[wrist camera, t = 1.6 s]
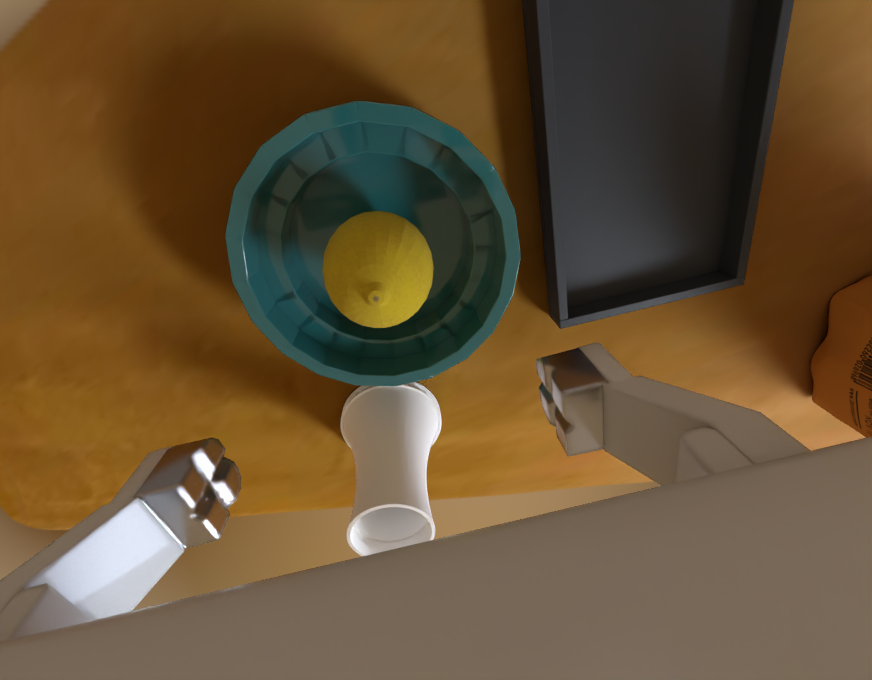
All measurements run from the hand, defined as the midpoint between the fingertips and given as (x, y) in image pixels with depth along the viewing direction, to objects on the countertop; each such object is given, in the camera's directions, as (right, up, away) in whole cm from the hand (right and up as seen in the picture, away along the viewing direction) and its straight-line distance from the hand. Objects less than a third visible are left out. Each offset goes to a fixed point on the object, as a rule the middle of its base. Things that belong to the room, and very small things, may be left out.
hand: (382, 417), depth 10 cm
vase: (-2, -4, +21) cm, 21 cm away
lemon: (-2, +8, +14) cm, 16 cm away
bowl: (-2, +8, +14) cm, 16 cm away
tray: (+13, +13, +13) cm, 23 cm away
